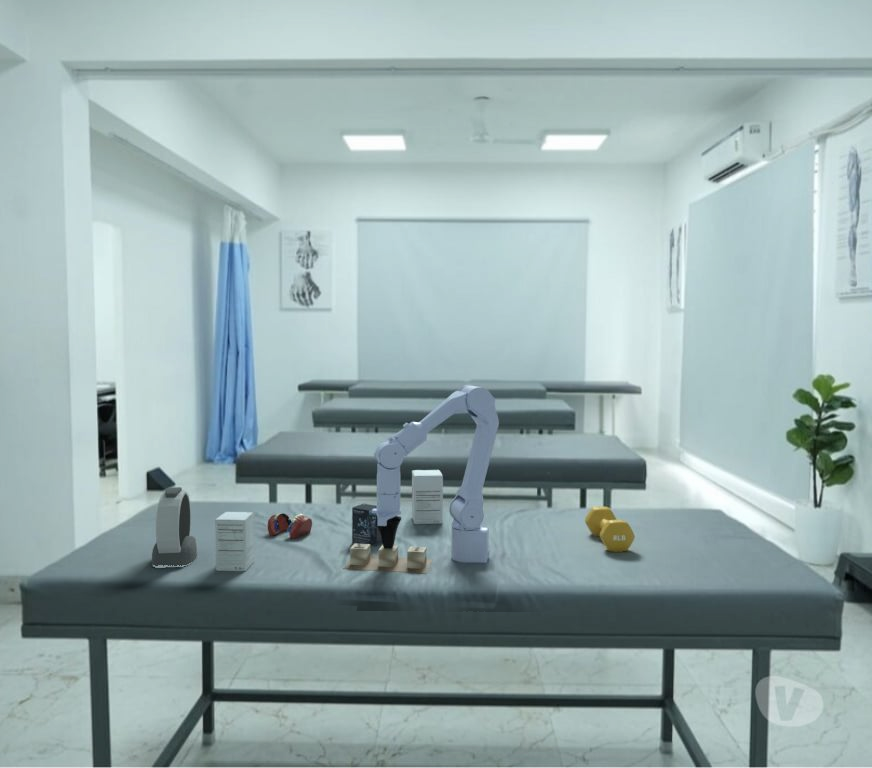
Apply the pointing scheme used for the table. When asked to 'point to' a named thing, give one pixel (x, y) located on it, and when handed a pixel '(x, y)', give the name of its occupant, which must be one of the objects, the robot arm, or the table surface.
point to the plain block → (388, 556)
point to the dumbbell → (610, 529)
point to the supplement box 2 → (427, 497)
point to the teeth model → (289, 525)
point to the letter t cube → (360, 554)
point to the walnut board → (399, 567)
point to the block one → (416, 557)
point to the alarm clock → (174, 530)
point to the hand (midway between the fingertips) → (388, 547)
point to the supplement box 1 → (234, 541)
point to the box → (365, 525)
